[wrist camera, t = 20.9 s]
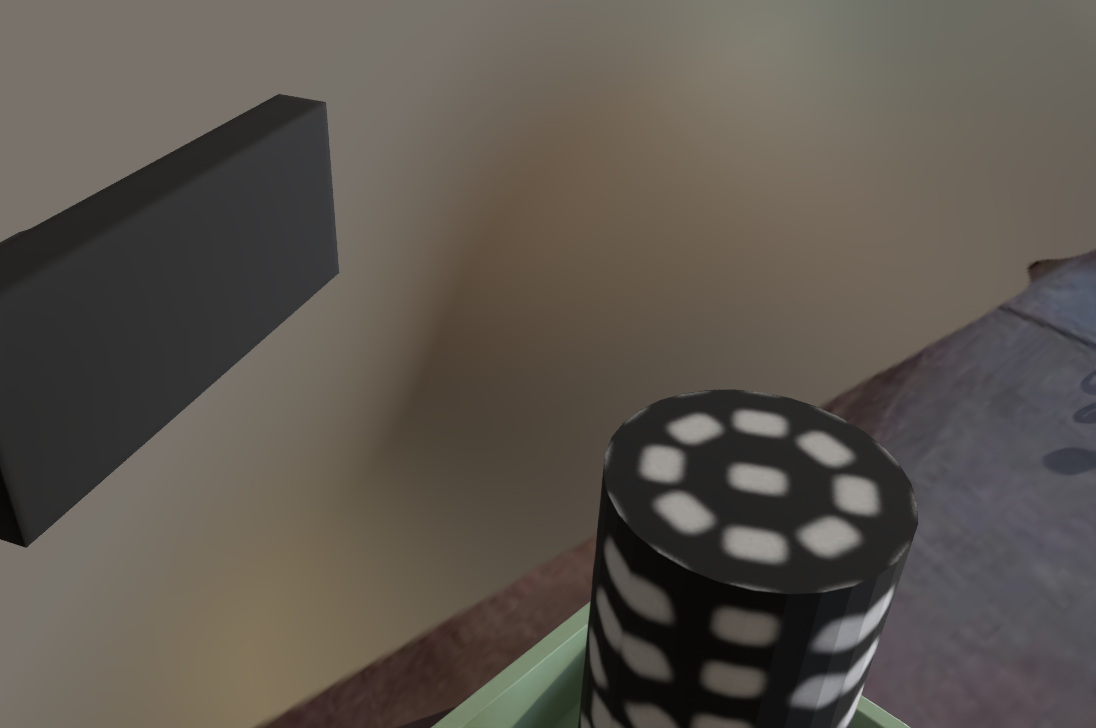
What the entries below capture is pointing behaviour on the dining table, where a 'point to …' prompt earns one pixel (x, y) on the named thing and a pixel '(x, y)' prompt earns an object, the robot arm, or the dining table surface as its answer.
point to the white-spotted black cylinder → (741, 565)
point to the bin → (566, 688)
